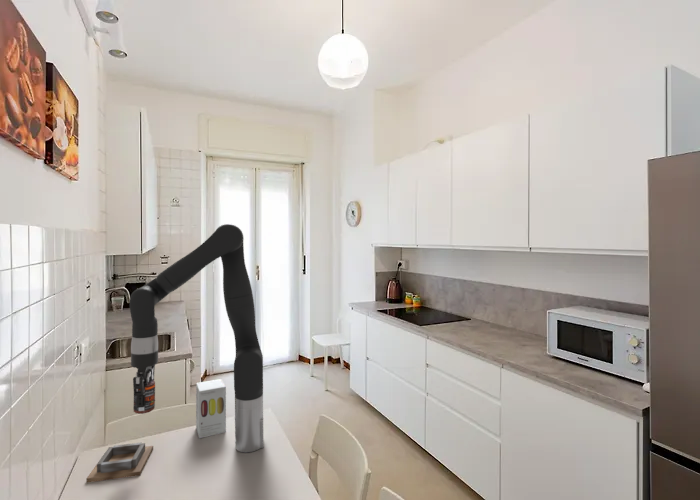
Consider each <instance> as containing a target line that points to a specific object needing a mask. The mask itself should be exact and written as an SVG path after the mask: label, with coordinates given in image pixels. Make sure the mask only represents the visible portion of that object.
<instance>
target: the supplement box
mask: <svg viewBox="0 0 700 500" xmlns="http://www.w3.org/2000/svg"><path fill="white" fill-rule="evenodd" d="M195 385H196V386H195V392H196V393H195V396H196V397H195V400H196V401H195V418H196V419H195V427H196V428H195V429H196V432H197V435H198V438H199V439H202V438H207V437H210V436H215V435H219V434H224V433H226V432H227V431H226V430H227V429H226V428H227V423H226V422H227V414H226V413H227V396H226V395H227V388H226V384H225V383H224V381H223V379H222V378H219V379H212V380H206V381H200V382H199V381H198V382H196V384H195Z"/></svg>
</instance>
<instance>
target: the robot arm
mask: <svg viewBox="0 0 700 500" xmlns="http://www.w3.org/2000/svg"><path fill="white" fill-rule="evenodd" d="M244 240H245V239H244V233H243V231H242V229H240V227H238V226H237V225H235V224H232V223H224V224H221V225H219V226H218V227H217V228H216V230H215V231H214V232H213V233H212V234H211V235H210V236H209V237H208V238H207V239H205V240H204V241H203V243H201V244H200V245H199V246H197V247H196V248H195V249H194V250H192V251H191V252H189V253H187V254H186V255H185V256H183V257H182V258H180V259H179V260H177V261H176V262H174V263H173V264H171V265H169V266H168V267H167V268H165V269H164V270H163V271H162V272H160V273H159V274H158V275H157V277H155V278H153V279H152V280H151V281H149V282H148V283H145V284H144V285H143V286H141V287H139V288H137V289H135V290H134V291H133V292H132V293H131V294H130V296H129V312H130V318H131V321H132V324H131V328H132V329H131V342H130V366H131V368H136V369H137V371H136V373H135V376H134V377H133V378H132V383H133V384H132V386H133V388H132V389H133V397H134V396H137V407H138V408H140V407H144V406H145V394H146V387H148V384H149V378H150V375H151V374H152V380H154V381H155V370H156V365H157V364H158V363H159V338H158V319H157V317H156V315H155V306H156V305H157V304H158V303H160V302H161V301H162V300H164V299H165V298H166V297H167V296H168V295H169V294H171V293H172V292H174V291H177V290H178V289H179V288H180V287H182V286H183V285H184V284H186V283H187V282H189V280H191V279H193V278H194V277H195V276H196V275H197V274H198V273H199V272H201V271H202V270H204V268H205V267H207V266H208V265H209V264H211V263H212V262H214V261H216V260H217V259H219V258H220V259H221V264H222V270H223V271H222V288H223V289H222V290H223V299H224V305H225V306H224V307H225V311H226V314H227V318H228V320H229V321H228V322H229V324H230V326H231V328H232V331H233V335H234V342H235V344H234V345H235V357H234V362H233V389H234V429H235V430H234V437H235V438H234V445H235V446H234V447H235V448H234V449H235V450H236V451H238V452H239V453H252V452H255V451H257V450H260V449H263V448H264V363H263V362H264V357H263V352H262V350H261V345H260V342H259V338H258V334H257V330H256V329H257V328H256V309H255V302H254V301H255V300H254V295H253V290H252V285H251V281H250V277H249V274H248V270H247V267H246V262H245V252H244V249H245V248H244ZM144 383H145V384H144ZM139 389H141V391H139Z"/></svg>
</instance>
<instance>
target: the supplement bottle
mask: <svg viewBox="0 0 700 500" xmlns="http://www.w3.org/2000/svg"><path fill="white" fill-rule="evenodd" d="M144 384H145V383H144ZM139 391H141V389H139ZM155 407H156V381H155V379H154V380H152V374H151V375H150V378H149V384H148V387H146V394H145V406H144V407H140V408H138V407H137V396H134V395H133V413H135V414H139V415H143V414H144V415H145V414H147V413H151V412H152V411H153V410H154V409H155Z"/></svg>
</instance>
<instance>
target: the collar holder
mask: <svg viewBox="0 0 700 500" xmlns="http://www.w3.org/2000/svg"><path fill="white" fill-rule="evenodd" d="M153 451H154V445H149V446H146V443H145V442H134V443H125V444H117V445H116V444H115V445H113V446H108V448H107V449H106V451H105V452H104V453H103V455H102V456H101V458H100V459H99V461H98V462H97V463H96V465H95V466H94V467H93V468H92V470H91V471H90V473H89V474H88V476H87V477H86V483H87V484H88V483H94V482H101V481H109V480H115V479H117V480H118V479H122V478H130V477H138V476H141V475H142V473H143V471H144V469H145V467H146V466H147V463H148V461H149V459H150V457H151V455H152V453H153Z"/></svg>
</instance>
